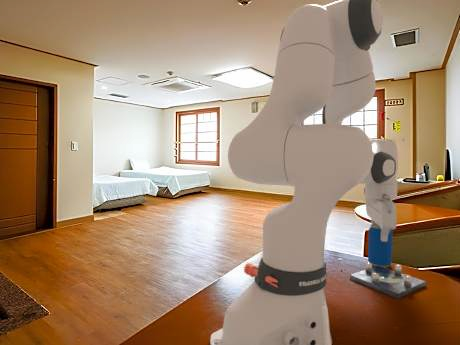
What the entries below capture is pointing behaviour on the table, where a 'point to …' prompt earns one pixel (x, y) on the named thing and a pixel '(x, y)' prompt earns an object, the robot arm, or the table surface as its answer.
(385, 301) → the table surface
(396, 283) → the plate
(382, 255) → the beverage can
